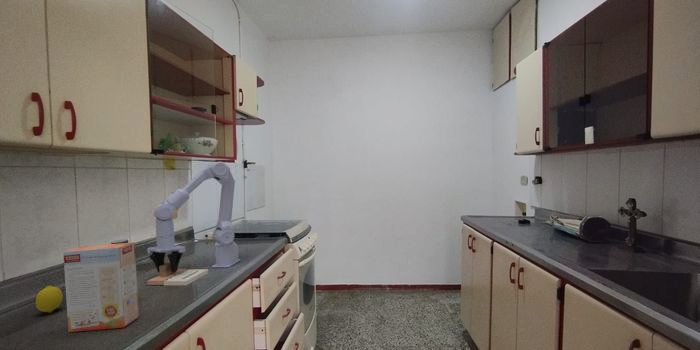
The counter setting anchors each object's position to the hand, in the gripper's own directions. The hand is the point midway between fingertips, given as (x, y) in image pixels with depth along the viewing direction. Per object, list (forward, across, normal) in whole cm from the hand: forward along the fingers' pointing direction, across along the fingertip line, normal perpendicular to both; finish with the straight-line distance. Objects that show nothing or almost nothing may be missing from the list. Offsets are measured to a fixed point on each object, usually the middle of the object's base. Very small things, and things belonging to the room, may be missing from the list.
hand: (167, 271), depth 107 cm
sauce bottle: (+3, +4, -21) cm, 22 cm away
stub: (+3, 0, 0) cm, 3 cm away
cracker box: (+3, +9, -32) cm, 33 cm away
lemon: (+3, -16, -26) cm, 31 cm away
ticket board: (+3, +8, 0) cm, 9 cm away
